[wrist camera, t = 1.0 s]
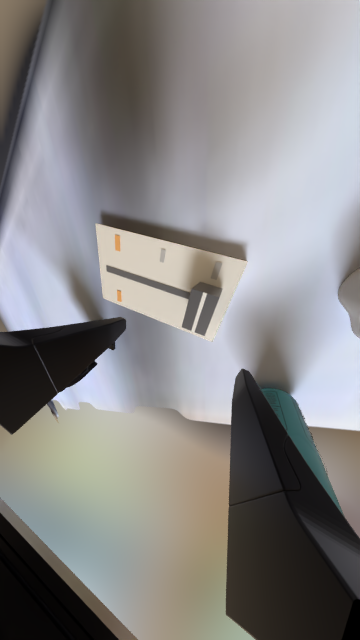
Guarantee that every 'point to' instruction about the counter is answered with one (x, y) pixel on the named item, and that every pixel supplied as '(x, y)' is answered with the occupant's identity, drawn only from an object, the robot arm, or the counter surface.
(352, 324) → the lumpy-topped squat cylinder
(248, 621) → the robot arm
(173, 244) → the panel
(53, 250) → the counter surface
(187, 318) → the block
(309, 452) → the beverage bottle
